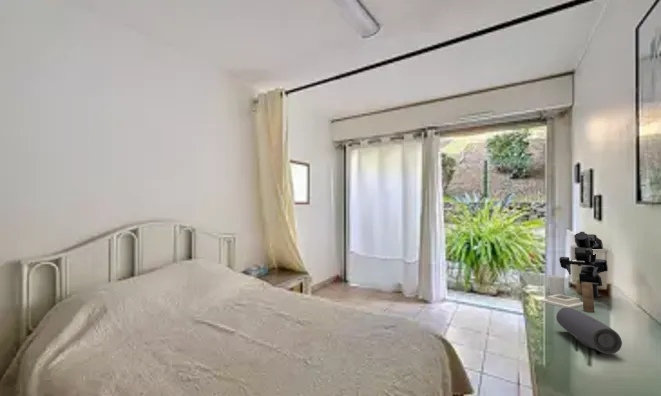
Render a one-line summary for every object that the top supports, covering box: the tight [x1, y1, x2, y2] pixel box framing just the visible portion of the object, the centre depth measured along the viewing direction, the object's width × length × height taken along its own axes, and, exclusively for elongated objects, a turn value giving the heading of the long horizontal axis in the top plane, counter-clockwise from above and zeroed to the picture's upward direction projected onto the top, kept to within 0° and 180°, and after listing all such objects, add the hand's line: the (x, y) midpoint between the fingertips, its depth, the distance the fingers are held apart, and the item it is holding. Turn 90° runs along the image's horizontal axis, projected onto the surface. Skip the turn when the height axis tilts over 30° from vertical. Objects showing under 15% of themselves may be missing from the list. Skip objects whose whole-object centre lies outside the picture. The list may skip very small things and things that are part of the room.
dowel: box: [580, 282, 595, 314], centre depth 144 cm, size 4×4×13 cm
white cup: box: [547, 275, 565, 295], centre depth 173 cm, size 8×8×10 cm
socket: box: [540, 294, 583, 309], centre depth 157 cm, size 14×14×3 cm
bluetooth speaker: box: [556, 307, 623, 355], centre depth 110 cm, size 23×9×10 cm, turn 168°
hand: (581, 275), depth 152 cm, fingers open, 9 cm apart
